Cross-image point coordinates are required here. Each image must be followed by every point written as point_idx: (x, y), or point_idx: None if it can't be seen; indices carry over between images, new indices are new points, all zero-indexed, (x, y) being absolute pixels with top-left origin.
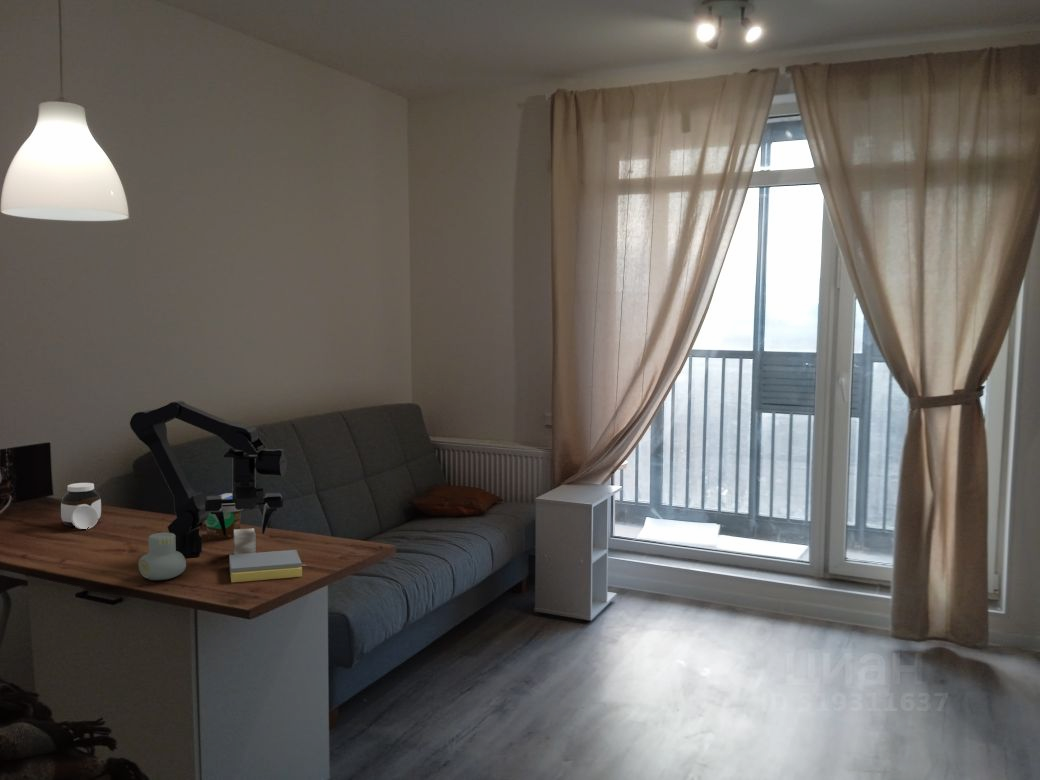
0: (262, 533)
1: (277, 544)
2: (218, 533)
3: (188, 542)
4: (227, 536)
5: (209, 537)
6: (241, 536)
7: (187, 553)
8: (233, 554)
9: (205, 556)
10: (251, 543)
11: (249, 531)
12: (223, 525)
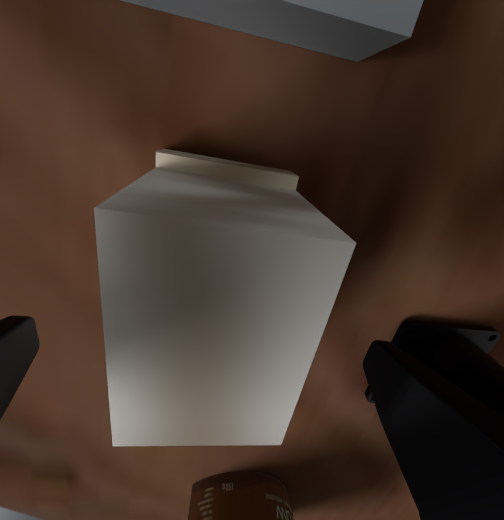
0: (24, 317)
1: (34, 388)
2: (267, 500)
3: (495, 382)
4: (235, 484)
5: (286, 490)
6: (280, 229)
7: (454, 339)
8: (376, 25)
9: (377, 317)
10: (173, 189)
11: (162, 371)
12: (496, 433)
